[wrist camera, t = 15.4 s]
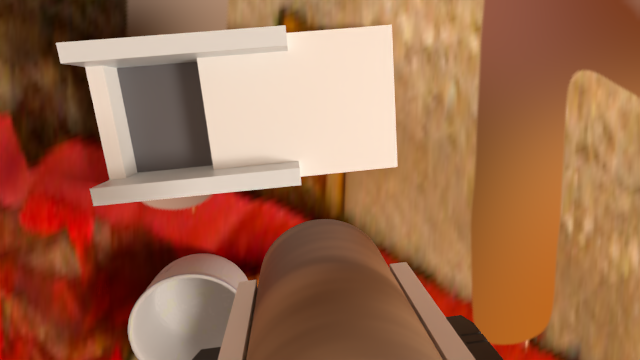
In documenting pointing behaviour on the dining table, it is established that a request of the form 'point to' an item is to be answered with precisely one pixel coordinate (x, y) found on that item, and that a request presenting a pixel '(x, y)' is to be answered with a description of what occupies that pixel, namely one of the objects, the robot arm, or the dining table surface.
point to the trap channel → (237, 108)
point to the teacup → (184, 308)
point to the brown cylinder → (332, 300)
